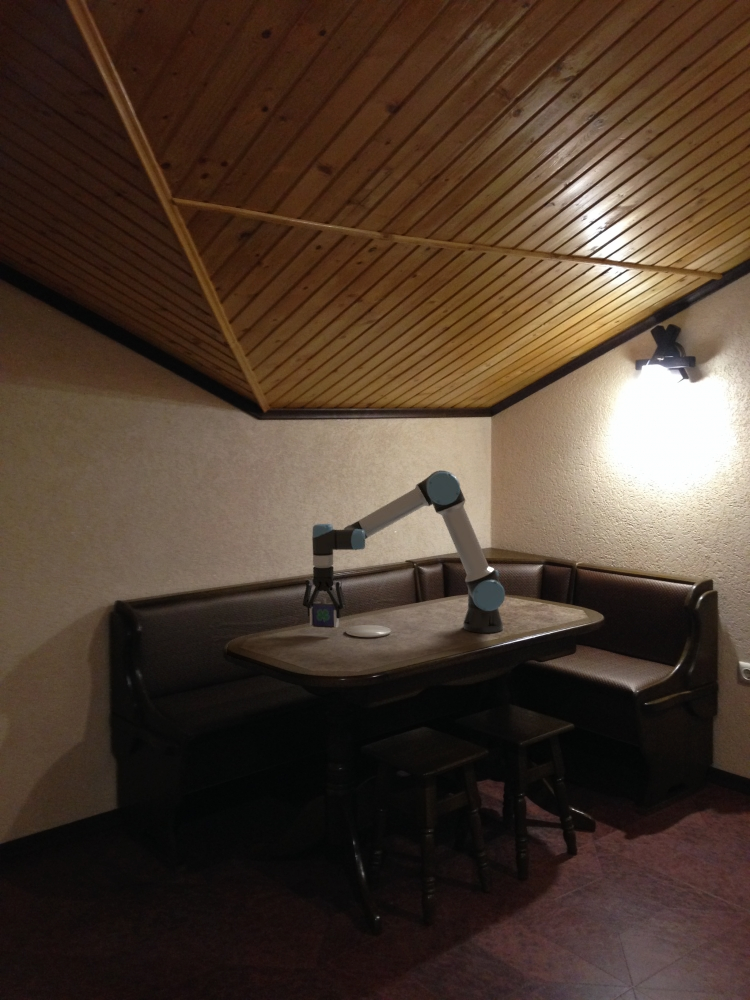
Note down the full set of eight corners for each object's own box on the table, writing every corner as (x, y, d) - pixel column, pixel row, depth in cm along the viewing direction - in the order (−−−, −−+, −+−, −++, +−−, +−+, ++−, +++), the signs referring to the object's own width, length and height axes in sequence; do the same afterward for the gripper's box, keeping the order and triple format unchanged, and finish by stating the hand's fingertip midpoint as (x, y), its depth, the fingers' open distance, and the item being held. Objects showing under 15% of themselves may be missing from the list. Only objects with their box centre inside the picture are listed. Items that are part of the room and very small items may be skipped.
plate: (397, 630, 315) (397, 627, 315) (380, 640, 299) (380, 637, 299) (356, 626, 322) (356, 623, 321) (338, 636, 306) (338, 632, 306)
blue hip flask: (337, 626, 306) (336, 597, 306) (335, 628, 304) (334, 599, 303) (314, 625, 309) (313, 597, 308) (311, 627, 306) (310, 598, 305)
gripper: (354, 565, 304) (355, 625, 306) (301, 563, 312) (302, 621, 314) (346, 568, 297) (347, 630, 299) (292, 566, 305) (293, 626, 307)
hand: (324, 625), depth 306 cm, fingers closed on blue hip flask, 9 cm apart
